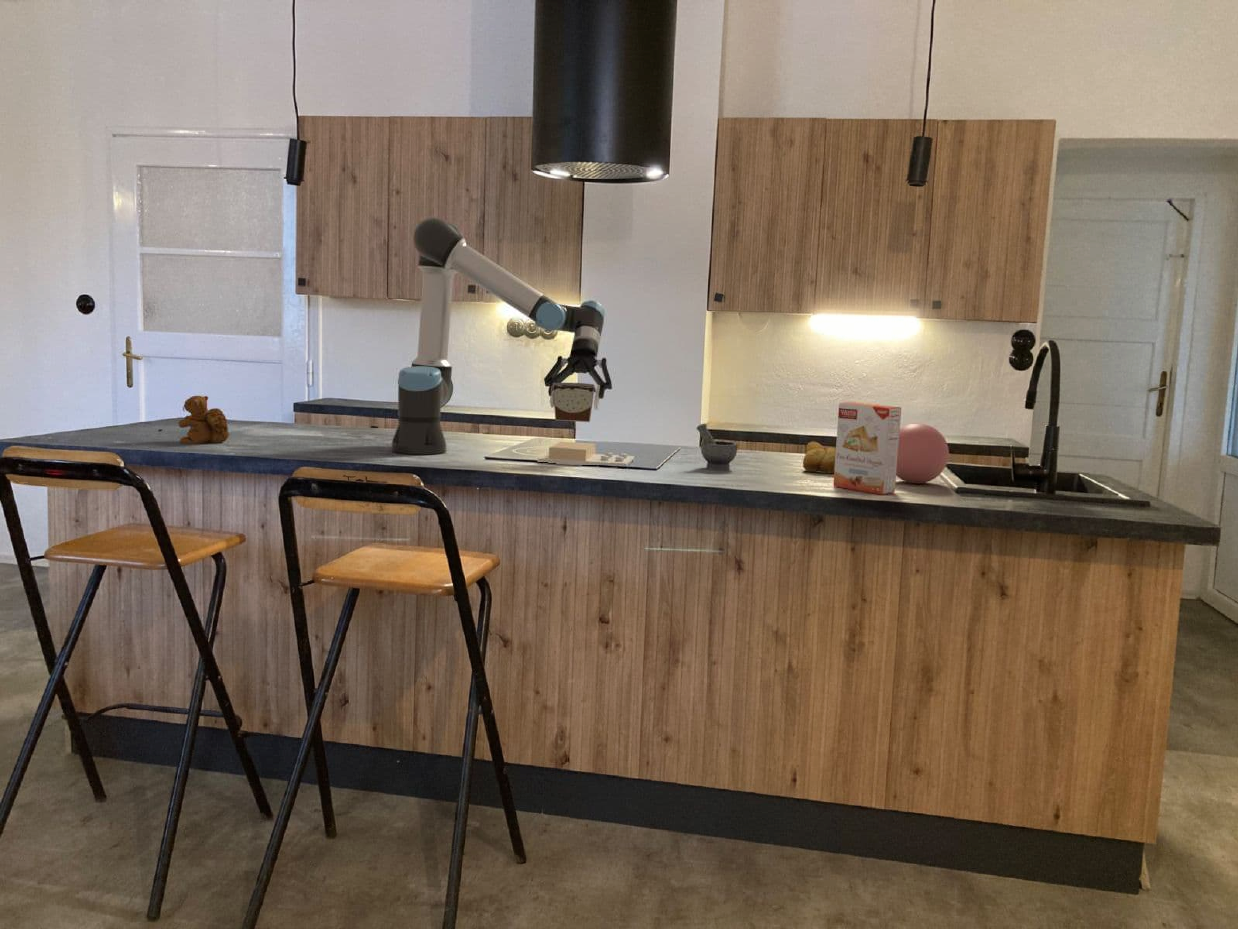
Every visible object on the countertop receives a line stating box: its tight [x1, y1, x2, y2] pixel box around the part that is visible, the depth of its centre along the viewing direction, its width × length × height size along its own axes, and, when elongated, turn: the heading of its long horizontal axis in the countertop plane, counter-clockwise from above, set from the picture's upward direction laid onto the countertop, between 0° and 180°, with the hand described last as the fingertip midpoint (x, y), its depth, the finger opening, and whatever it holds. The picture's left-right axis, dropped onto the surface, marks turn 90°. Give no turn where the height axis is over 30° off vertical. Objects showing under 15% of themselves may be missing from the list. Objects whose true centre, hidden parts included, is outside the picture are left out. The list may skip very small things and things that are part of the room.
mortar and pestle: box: [696, 422, 739, 471], centre depth 274 cm, size 11×9×12 cm
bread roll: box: [802, 440, 836, 474], centre depth 275 cm, size 13×10×8 cm
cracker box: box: [832, 401, 902, 496], centre depth 245 cm, size 14×6×21 cm, turn 45°
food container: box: [551, 382, 597, 423], centre depth 276 cm, size 12×6×10 cm, turn 83°
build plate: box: [536, 441, 635, 466], centre depth 277 cm, size 24×16×4 cm, turn 82°
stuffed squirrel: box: [178, 395, 231, 445], centre depth 286 cm, size 10×14×13 cm
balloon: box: [896, 423, 950, 485], centre depth 263 cm, size 15×20×15 cm
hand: (573, 405), depth 273 cm, fingers closed on food container, 11 cm apart
